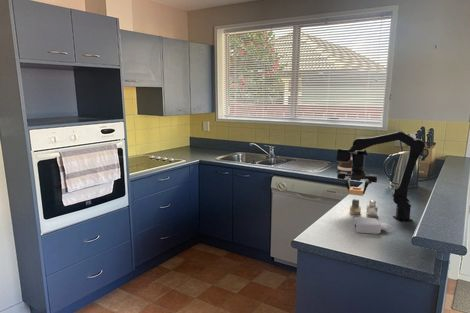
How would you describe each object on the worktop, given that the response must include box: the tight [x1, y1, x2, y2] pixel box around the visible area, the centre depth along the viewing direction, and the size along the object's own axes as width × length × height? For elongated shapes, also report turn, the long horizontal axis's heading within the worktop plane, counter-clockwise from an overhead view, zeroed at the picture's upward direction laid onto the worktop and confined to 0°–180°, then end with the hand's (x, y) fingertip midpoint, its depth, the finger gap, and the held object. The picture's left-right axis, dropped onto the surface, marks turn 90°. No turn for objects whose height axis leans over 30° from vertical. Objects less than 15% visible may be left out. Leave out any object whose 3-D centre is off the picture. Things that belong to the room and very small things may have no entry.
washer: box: [348, 186, 364, 197], centre depth 171 cm, size 7×7×2 cm
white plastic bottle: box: [353, 216, 392, 235], centre depth 150 cm, size 5×9×15 cm
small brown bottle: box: [349, 198, 362, 216], centre depth 172 cm, size 5×5×7 cm
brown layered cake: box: [337, 154, 353, 174], centre depth 269 cm, size 20×15×15 cm
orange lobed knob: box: [365, 199, 379, 218], centre depth 169 cm, size 5×5×7 cm
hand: (356, 193), depth 171 cm, fingers closed on washer, 7 cm apart
